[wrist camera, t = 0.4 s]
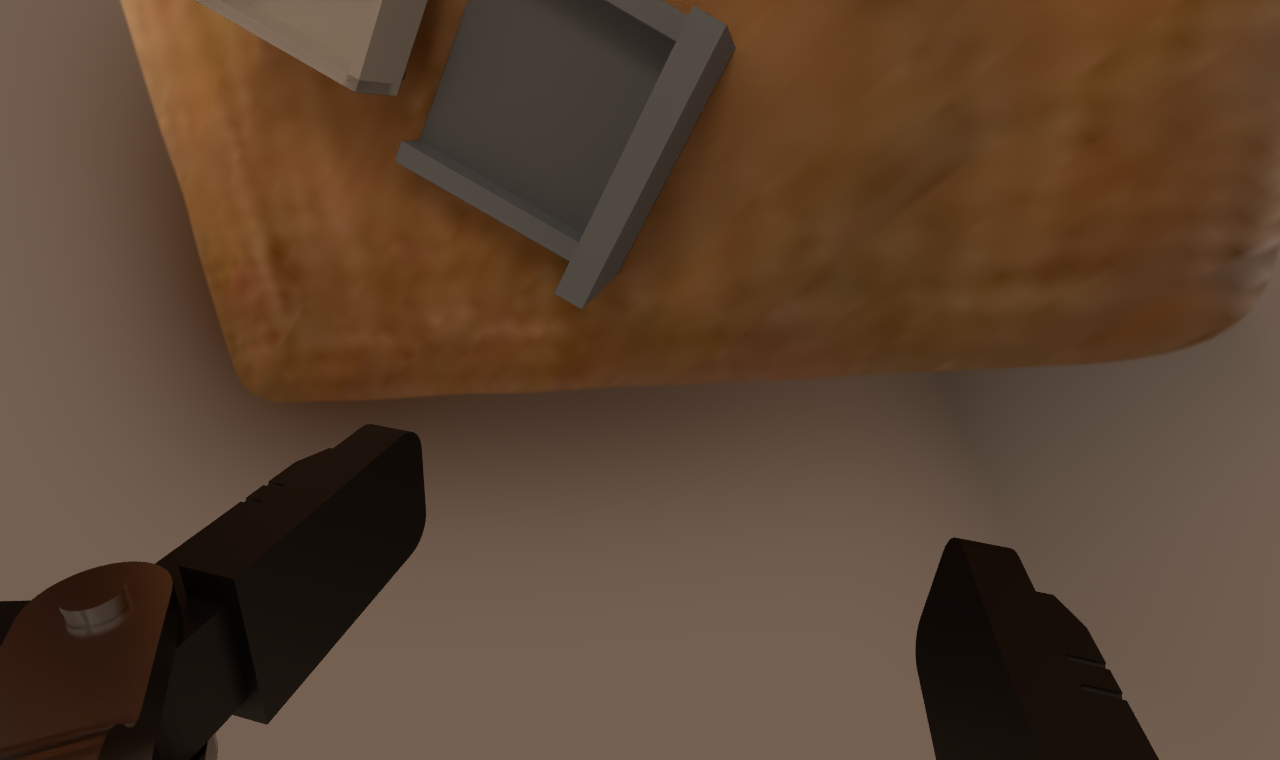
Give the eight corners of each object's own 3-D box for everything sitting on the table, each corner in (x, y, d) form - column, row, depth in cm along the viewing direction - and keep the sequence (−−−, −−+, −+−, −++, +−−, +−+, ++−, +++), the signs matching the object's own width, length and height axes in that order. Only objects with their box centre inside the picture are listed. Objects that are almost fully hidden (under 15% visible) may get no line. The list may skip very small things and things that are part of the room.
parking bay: (502, -89, 33) (426, -152, 25) (735, 47, 33) (726, 24, 26) (416, 159, 38) (332, 166, 31) (617, 274, 38) (581, 309, 31)
